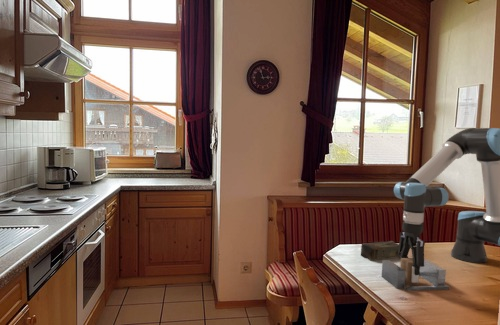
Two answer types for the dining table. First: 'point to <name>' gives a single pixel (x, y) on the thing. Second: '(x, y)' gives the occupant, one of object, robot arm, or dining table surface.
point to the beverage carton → (379, 250)
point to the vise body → (403, 278)
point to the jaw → (433, 273)
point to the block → (408, 270)
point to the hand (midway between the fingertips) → (408, 278)
